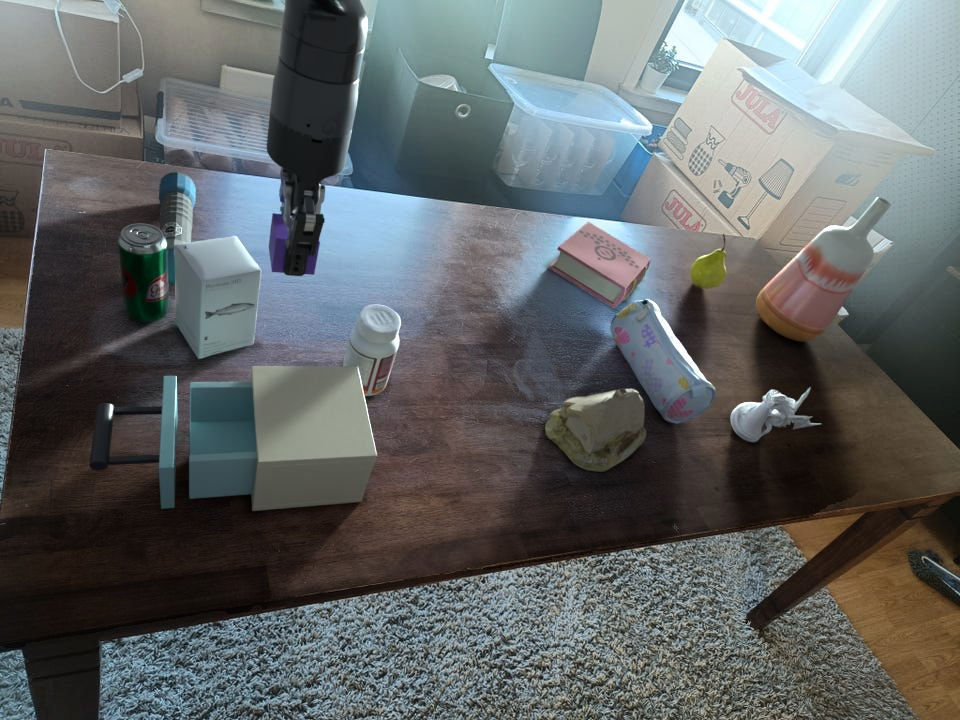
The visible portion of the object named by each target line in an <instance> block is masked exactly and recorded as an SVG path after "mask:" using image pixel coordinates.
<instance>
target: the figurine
mask: <svg viewBox="0 0 960 720" xmlns="http://www.w3.org/2000/svg"><path fill="white" fill-rule="evenodd" d="M811 389H812V387H811V386H810V387H809V388H807V390H806V391H805V392H804V393H803V394H801V395H800V397H799V398H798V400H795V399H794V398H791V397H788V396H787V395H785V394H782V392H779V390H776V389H770V390H769V391H768V392H767V393H766V394H765V395H763V396H762V402H753V401H750V402H749V401H748V402H743V403H740V404H738V405H737V406H736V407H735V408H734V409H732V412H731V414H730V417H729V419H730V425H731V428H732V430H733V431H734V432H735V434H736V435H737V436H738V437H740V438H741V439H742V440H744V441H745V442H746V441H747V442H749V443H757V442H758V441H759V440H760V438H762V437H763V436H765V435H766V434H769V433H770V432H771V431H772V429H773V427H777V428H781V427H783V428H787V425H788V426H791V423H792V424H793V427H792V428H791V430H797V429H802V428H808V427H814V426H819V425H821V423H816V422H815V423H814V422H811V420H810V419H811V418H813V415H812V416H808V415H795V413H796V412H797V410H798V409H799V407H800V406H801V405H802V403H804V401H805V399H806V398H807V397H808V396H809V394H810V392H811ZM764 425H765V426H766V429H765V430H764V431H762V428H763V426H764Z"/></svg>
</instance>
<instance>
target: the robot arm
mask: <svg viewBox="0 0 960 720" xmlns="http://www.w3.org/2000/svg"><path fill="white" fill-rule="evenodd" d="M283 9H284V10H283V14H282V23H281V32H280V41H279V42H280V43H279V51H278V54H279V55H278V59H277V64H276V68H275V71H274V75H273V81H272V88H271V101H270V108H269V119H268V129H267V137H266V138H267V139H266V140H267V141H266V152H267V155H268V156H269V158H270V159H271V160H272V162H274V164H276V165H277V166H279V167H280V172H279V175H280V184H279V190H278V193H279V194H278V197H279V202H280V203H281V205H280V207H279V212H280V214H283V221H284V224H285V226H286V227H288V228H287V240H286V241H285V245H286V252H285V259H284V266H283V270H284V273H283V274H284V275H285V276H287V277H288V276H289V277H303V276H304V275H306V274H305V269H306V263H307V258H308V255H309V256H314V255H315V253H316V248H317V244H318V241H319V239H320V237H321V234H322V230H323V227H324V224H325V222H326V221H325V220H326V219H325V216H324V214H323V213H321V209H322V204H323V203H324V202H325V197H326V185H325V184H321V183H322V181H323V180H325V179H328V178H330V177H334V176H336V175H338V174H340V173H341V172H342V171H343V170H344V168H345V167H346V163H347V158H348V153H349V149H350V142H351V138H352V132H353V127H354V121H355V117H356V111H357V108H358V107H357V106H358V101H359V82H360V75H361V71H362V67H363V66H362V65H363V60H364V55H365V50H366V44H367V40H368V39H367V38H368V37H367V36H368V30H369V21H368V15H367V11H366V9H365V7H364V5H363V3H362V1H361V0H284V8H283ZM290 215H294V217H291V216H290Z"/></svg>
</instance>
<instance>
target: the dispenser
mask: <svg viewBox="0 0 960 720" xmlns="http://www.w3.org/2000/svg"><path fill="white" fill-rule="evenodd" d="M249 382H252V390H253V404H254V419H255V434H256V449H257V467H256V476H255V484H254V492H253V494H250V497H251V510H252V512H256V511H257V512H258V511H259V512H260V511H269V510H279V509H281V510H282V509H291V508H293V509H294V508H303V507H316V506H328V505H339V504H351V503H352V504H353V503H361V502H362V501H363V499H364V496H365V493H366V490H367V487H368V484H369V481H370V478H371V475H372V471H373V470H374V469H373V468H374V466H375V463H376V459H377V457H378V453H377V449H376V444H375V440H374V434H373V431H372V430H373V429H372V425H371V420H370V416H369V411H368V406H367V402H366V396H364V393H363V388H362V383H361V379H360V374H359V369H358V367H343V366H336V365H335V366H332V365H331V366H329V365H327V366H326V365H325V366H321V365H320V366H319V365H317V366H315V365H314V366H313V365H312V366H309V365H307V366H305V365H304V366H302V365H297V366H295V365H294V366H293V365H291V366H290V365H287V366H286V365H285V366H284V365H251V369H250V379H249Z"/></svg>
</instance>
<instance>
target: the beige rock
mask: <svg viewBox="0 0 960 720" xmlns="http://www.w3.org/2000/svg"><path fill="white" fill-rule="evenodd" d="M644 401H645V400H644V399H643V397H642V396H641V395H640V392H639V391H638V390H636V389H635V388H624V387H622V388H620V389H615V390H610V391H609V390H608V391H605V392H598V393H595V394H591V395H586V396H572V397H569V398H567V399H566V400H565V401H563V404H562V407H560V408H557V409H554V410H553V411H551V412H550V414H549V415H548V417H547V420H546V422H545V426H544V431H545V435H546V437H547V438H548V439H549V440H550V441H551V442H552V443H554V444H555V445H556V446H558V448H559V449H560V450H561V451H563V453H564V454H565V456H567V458H568V459H569V460H570V461H571V462H572V463H573V464H574V465H575V466H577V467H579V468H580V469H583V470H585V471H590V472H591V471H592V472H599V473H601V472H602V473H604V472H607V471H608V470H610V469H611V468H612V469H613V467H615V466H617V465H618V464H620V463H622V462H623V461H625V460H626V459H628V458H629V457H630V456H631V455H632V454H633V453H634V452H636V450H637V449H638V448H639V447H640V446H642V444H643V443H644V442H645V439H646V437H647V430H646V429H645V428H644V424H645V402H644Z"/></svg>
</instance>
